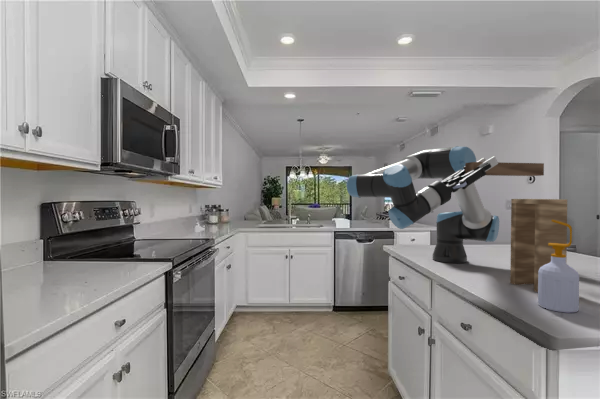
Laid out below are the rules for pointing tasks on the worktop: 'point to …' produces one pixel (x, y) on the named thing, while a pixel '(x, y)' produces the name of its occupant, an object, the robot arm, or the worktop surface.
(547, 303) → the soap bottle
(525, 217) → the bridge
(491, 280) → the worktop surface
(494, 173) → the walnut rail
